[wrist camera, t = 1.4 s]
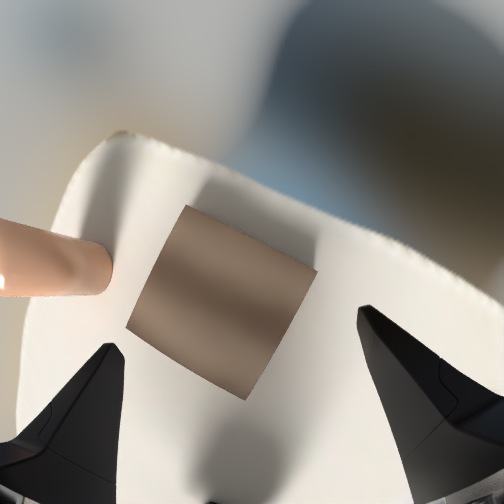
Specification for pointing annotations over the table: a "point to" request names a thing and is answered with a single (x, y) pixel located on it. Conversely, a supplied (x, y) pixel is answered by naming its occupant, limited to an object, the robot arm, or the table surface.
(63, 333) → the table surface
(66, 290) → the peach dome-topped cylinder
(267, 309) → the walnut plinth
